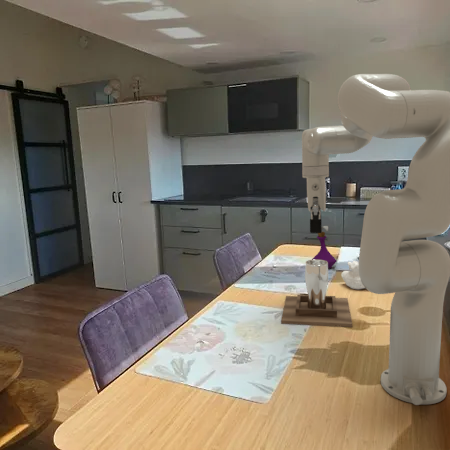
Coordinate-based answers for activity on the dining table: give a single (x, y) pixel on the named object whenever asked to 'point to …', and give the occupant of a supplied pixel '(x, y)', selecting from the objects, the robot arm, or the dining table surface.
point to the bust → (353, 276)
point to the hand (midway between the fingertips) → (315, 229)
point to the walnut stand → (316, 312)
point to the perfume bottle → (324, 250)
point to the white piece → (316, 283)
